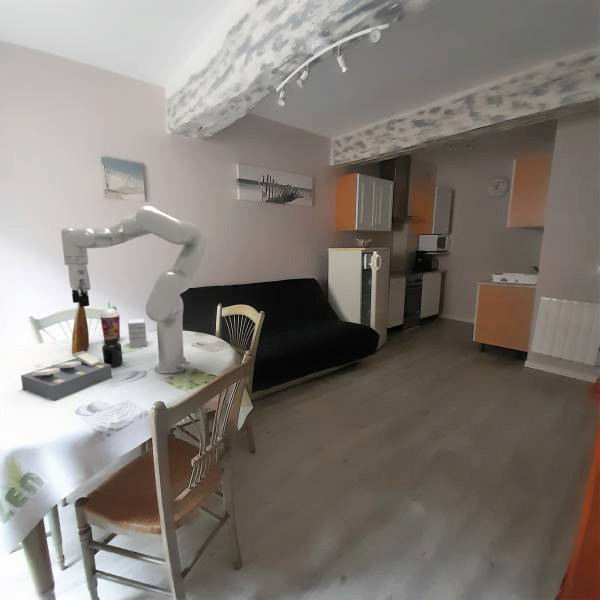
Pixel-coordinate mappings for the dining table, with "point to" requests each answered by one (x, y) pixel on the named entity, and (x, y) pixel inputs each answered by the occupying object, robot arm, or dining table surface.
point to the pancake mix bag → (80, 331)
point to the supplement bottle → (112, 352)
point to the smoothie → (110, 322)
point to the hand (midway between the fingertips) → (81, 304)
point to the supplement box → (137, 333)
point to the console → (66, 379)
